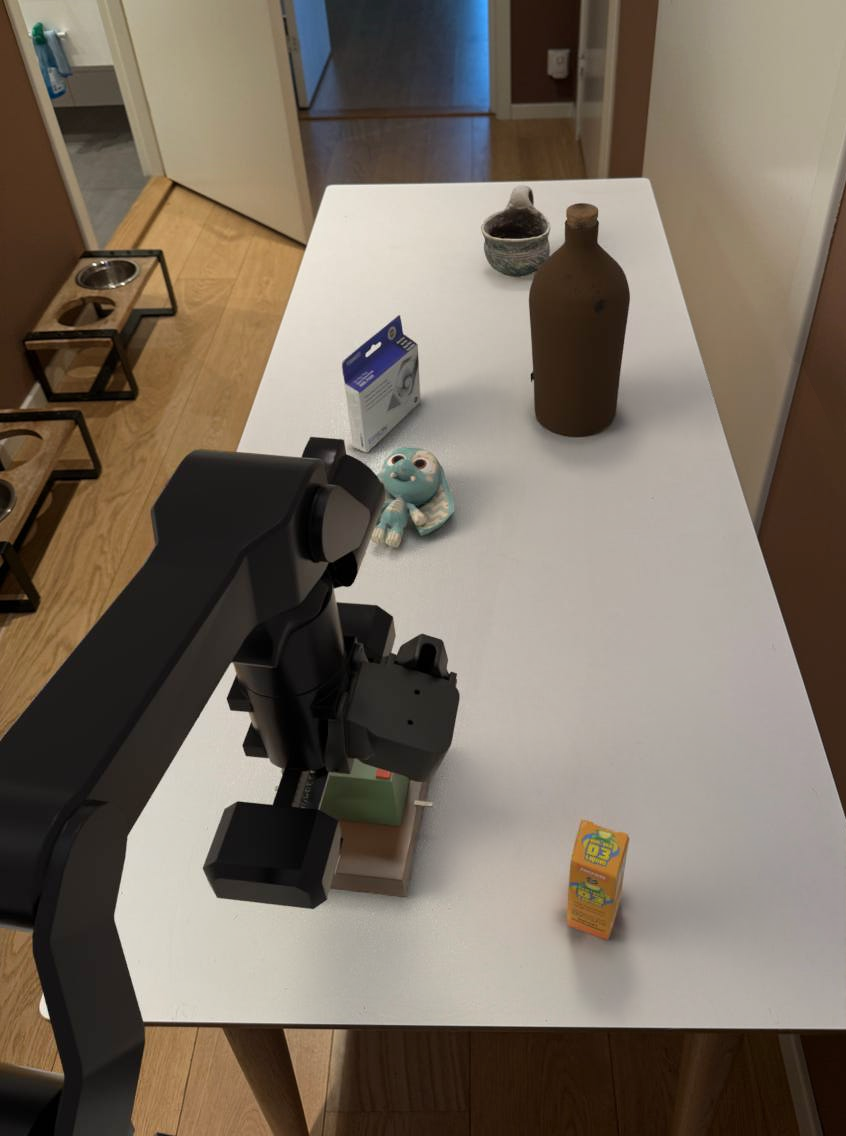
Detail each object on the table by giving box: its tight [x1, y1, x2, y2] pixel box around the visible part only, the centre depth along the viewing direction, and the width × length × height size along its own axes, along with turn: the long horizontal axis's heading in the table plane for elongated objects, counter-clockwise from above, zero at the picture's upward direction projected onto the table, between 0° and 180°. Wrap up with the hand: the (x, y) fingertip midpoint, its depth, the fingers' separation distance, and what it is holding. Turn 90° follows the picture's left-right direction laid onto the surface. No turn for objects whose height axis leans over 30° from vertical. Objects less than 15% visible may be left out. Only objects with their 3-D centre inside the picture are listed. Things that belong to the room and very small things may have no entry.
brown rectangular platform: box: [274, 780, 434, 898], centre depth 73 cm, size 12×12×3 cm
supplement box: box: [566, 818, 630, 941], centre depth 64 cm, size 3×3×10 cm
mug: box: [480, 185, 552, 278], centre depth 135 cm, size 10×12×10 cm
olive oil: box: [528, 202, 631, 437], centre depth 103 cm, size 11×11×25 cm
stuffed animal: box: [370, 446, 455, 548], centre depth 97 cm, size 11×7×12 cm
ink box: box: [341, 314, 421, 454], centre depth 107 cm, size 12×2×12 cm, turn 149°
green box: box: [280, 759, 410, 826], centre depth 70 cm, size 8×4×6 cm, turn 83°
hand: (330, 815), depth 60 cm, fingers open, 9 cm apart
